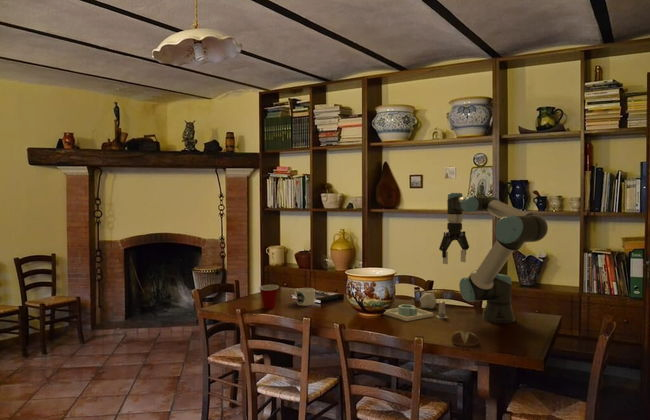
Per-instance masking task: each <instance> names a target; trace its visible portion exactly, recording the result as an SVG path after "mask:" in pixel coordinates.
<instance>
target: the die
mask: <svg viewBox="0 0 650 420" xmlns="http://www.w3.org/2000/svg"><path fill="white" fill-rule="evenodd" d="M419 302H420V305H421V307H422V308H424V309H434V307H435V306H436V304H437V303H438V302H437V299H436V297H435V293H433V292H423V293H422V295H421V297H420V298H419Z"/></svg>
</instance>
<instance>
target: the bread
mask: <svg viewBox="0 0 650 420" xmlns="http://www.w3.org/2000/svg"><path fill="white" fill-rule="evenodd" d="M451 342H452V344H454V345H455V346H458V345H460V346H459V347H476V346H477V345H479V343H480V340H479V337H478V336H477V335H476V334H475V333H473V332H472V331H466V332H464V331H463V330H462V329H460V330H457V331H455V332H454V333H453V334H452V336H451Z"/></svg>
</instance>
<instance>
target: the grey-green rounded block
mask: <svg viewBox="0 0 650 420" xmlns="http://www.w3.org/2000/svg"><path fill="white" fill-rule="evenodd" d="M397 308H398V314H399V315H402V316H415V315H417V308H418V307H416V306H415V305H412V304H405V303H404V304H399V305H398V306H397Z"/></svg>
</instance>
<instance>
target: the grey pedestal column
mask: <svg viewBox="0 0 650 420" xmlns="http://www.w3.org/2000/svg"><path fill="white" fill-rule="evenodd" d="M435 317H436V318H438V319H447V318H448V316H447V315H446V302H445V301H442V300H441V301H438V315H436V316H435Z"/></svg>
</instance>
